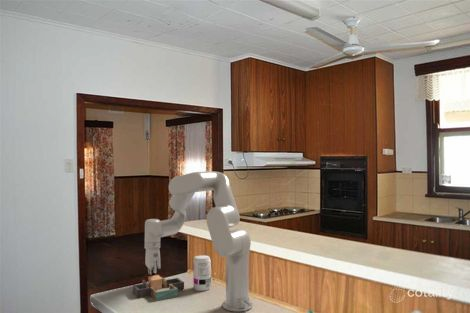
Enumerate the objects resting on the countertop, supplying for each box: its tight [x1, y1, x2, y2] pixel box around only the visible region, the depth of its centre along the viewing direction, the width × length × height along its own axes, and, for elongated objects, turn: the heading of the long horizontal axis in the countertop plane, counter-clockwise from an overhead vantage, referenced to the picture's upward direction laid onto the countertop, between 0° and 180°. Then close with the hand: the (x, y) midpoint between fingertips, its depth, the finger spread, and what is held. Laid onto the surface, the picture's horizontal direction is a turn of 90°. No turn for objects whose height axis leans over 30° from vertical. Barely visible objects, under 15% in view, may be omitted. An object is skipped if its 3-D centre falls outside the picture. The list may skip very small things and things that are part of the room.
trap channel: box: [132, 276, 185, 302], centre depth 174 cm, size 21×22×4 cm
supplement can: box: [192, 254, 212, 292], centre depth 178 cm, size 8×8×15 cm
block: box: [147, 274, 163, 291], centre depth 179 cm, size 5×5×5 cm
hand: (151, 282), depth 183 cm, fingers closed
